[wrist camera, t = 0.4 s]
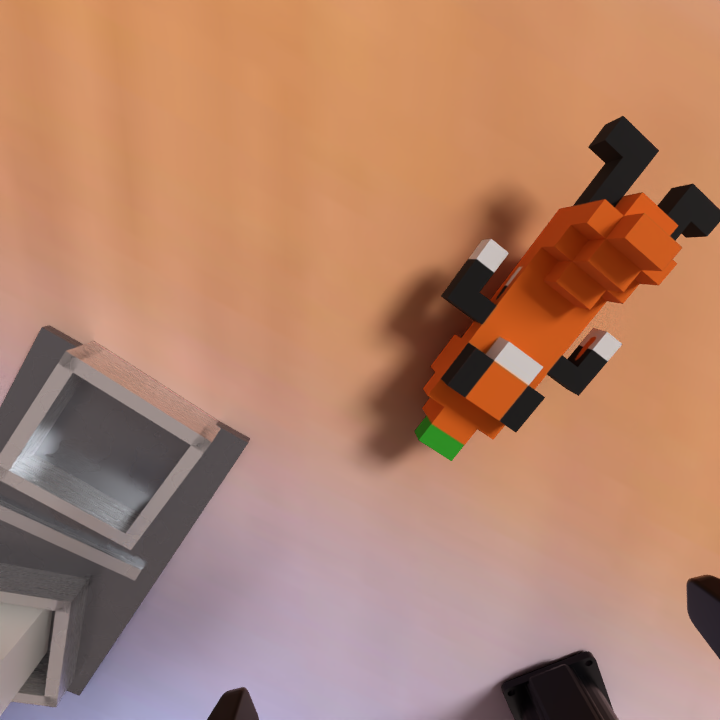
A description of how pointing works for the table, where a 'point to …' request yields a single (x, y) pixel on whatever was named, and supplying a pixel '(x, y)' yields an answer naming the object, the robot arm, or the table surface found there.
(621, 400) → the table surface
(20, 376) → the panel
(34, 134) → the table surface
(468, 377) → the toy
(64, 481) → the grey square holder
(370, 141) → the table surface
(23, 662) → the plug
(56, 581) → the gray square frame
